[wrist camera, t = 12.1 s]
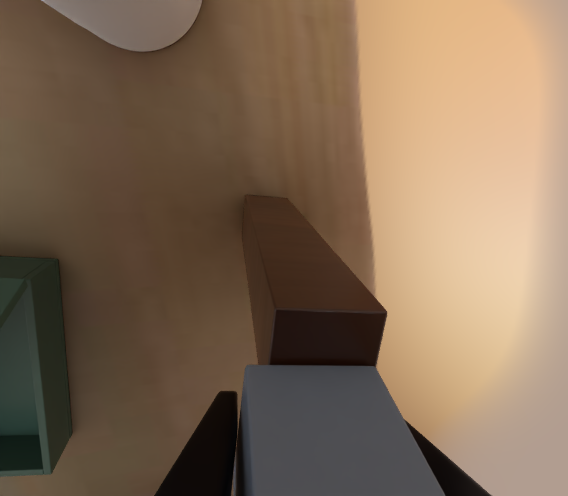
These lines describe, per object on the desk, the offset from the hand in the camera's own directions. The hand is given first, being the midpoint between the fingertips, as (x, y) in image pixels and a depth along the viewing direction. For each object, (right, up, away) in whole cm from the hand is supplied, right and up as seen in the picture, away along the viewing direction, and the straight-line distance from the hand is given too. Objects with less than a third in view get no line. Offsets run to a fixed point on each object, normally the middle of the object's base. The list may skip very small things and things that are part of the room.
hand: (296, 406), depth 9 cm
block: (0, 0, -1) cm, 1 cm away
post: (-1, +6, +12) cm, 13 cm away
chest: (-16, -2, +12) cm, 20 cm away
